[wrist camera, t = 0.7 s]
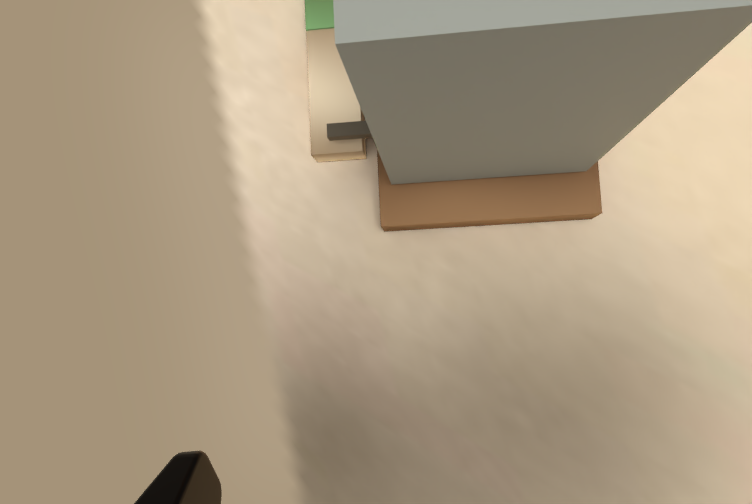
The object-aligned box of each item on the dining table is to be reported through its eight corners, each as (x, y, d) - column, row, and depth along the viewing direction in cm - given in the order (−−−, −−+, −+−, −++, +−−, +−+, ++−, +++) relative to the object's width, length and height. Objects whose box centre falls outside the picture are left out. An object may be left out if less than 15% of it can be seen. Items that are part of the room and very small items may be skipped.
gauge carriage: (586, 171, 21) (772, 3, 9) (332, 188, 22) (209, 55, 10) (573, 10, 22) (734, -341, 10) (326, 33, 23) (202, -262, 11)
